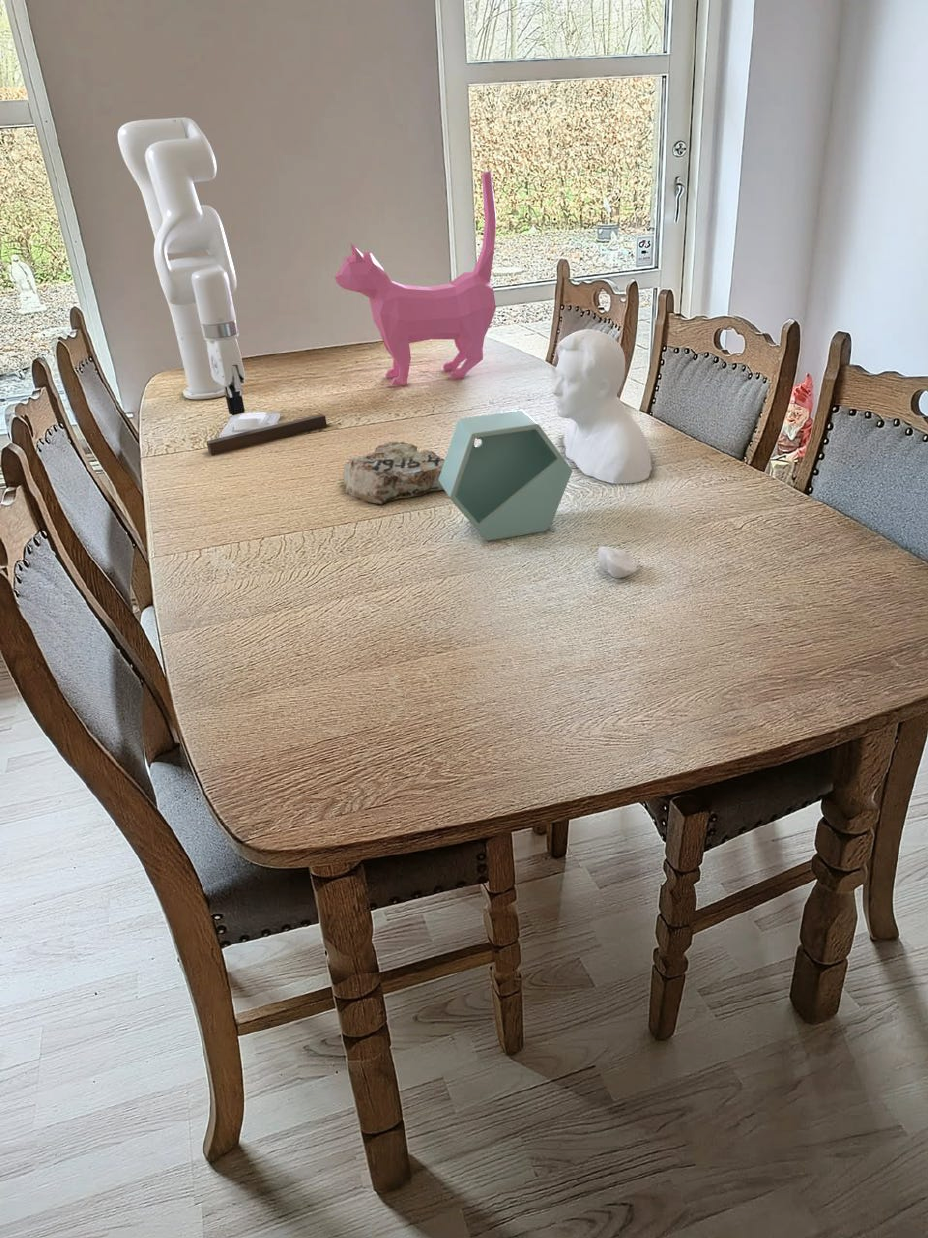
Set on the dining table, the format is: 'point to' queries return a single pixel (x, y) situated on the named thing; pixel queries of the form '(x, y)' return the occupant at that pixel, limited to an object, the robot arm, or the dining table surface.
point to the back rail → (266, 434)
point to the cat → (429, 304)
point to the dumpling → (616, 562)
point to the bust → (598, 410)
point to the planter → (504, 474)
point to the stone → (393, 473)
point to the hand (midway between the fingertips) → (237, 413)
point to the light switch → (249, 422)
